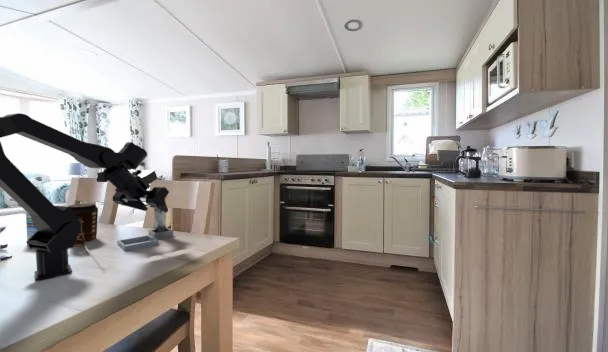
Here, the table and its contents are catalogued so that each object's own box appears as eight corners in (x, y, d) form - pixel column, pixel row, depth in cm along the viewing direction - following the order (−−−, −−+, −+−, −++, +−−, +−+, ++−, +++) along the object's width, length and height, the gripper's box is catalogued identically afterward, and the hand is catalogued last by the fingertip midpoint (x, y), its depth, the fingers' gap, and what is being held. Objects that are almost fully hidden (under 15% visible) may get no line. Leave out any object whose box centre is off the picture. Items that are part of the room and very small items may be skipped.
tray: (158, 248, 87) (158, 240, 87) (124, 255, 81) (124, 246, 81) (149, 242, 93) (149, 235, 93) (117, 248, 87) (117, 240, 87)
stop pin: (170, 236, 97) (168, 194, 96) (156, 238, 94) (154, 195, 93) (165, 233, 100) (164, 193, 99) (151, 236, 97) (150, 194, 96)
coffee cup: (72, 241, 95) (70, 203, 95) (102, 238, 99) (100, 202, 98) (63, 248, 87) (61, 207, 87) (96, 245, 91) (94, 205, 90)
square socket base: (180, 238, 98) (180, 229, 97) (155, 243, 92) (155, 234, 92) (170, 234, 104) (170, 225, 104) (147, 238, 98) (146, 229, 98)
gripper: (162, 161, 86) (190, 192, 97) (119, 161, 92) (149, 191, 103) (141, 189, 79) (173, 220, 90) (96, 187, 85) (131, 216, 96)
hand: (156, 210), depth 95 cm, fingers open, 9 cm apart
